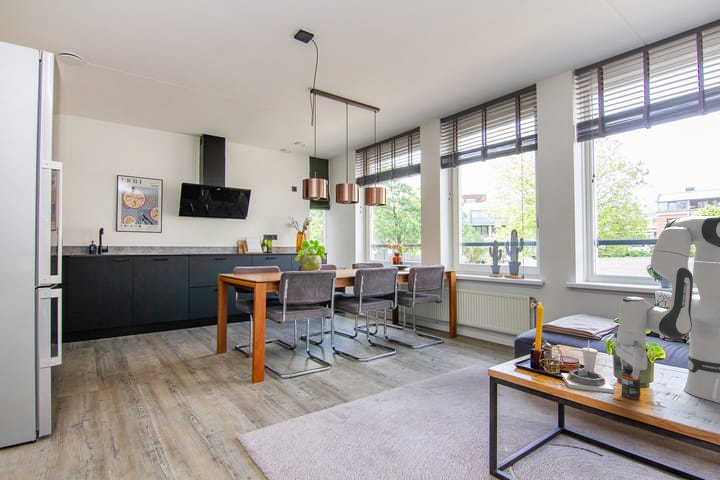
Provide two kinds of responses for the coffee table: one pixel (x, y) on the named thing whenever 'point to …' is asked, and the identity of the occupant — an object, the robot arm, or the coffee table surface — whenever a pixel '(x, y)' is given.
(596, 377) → the ring
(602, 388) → the socket plate
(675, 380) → the coffee table surface
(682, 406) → the coffee table surface
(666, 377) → the coffee table surface
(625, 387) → the supplement bottle
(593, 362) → the smoothie
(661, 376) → the coffee table surface
